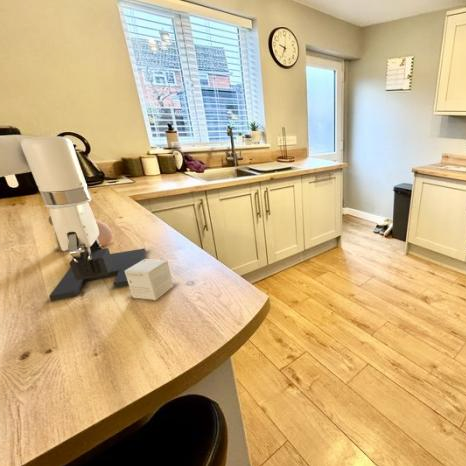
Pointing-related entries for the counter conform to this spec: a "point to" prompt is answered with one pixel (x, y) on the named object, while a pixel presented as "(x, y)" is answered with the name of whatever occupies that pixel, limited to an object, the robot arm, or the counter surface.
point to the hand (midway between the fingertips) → (94, 268)
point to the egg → (104, 233)
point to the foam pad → (102, 262)
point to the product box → (149, 279)
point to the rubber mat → (121, 263)
